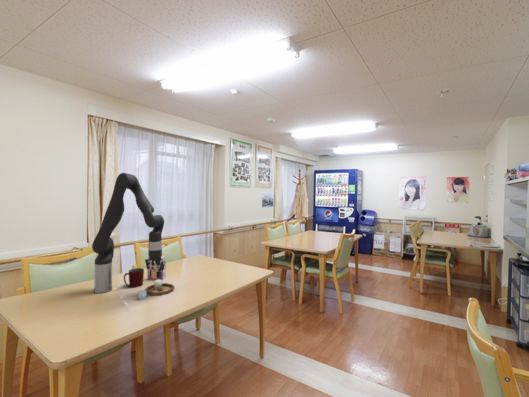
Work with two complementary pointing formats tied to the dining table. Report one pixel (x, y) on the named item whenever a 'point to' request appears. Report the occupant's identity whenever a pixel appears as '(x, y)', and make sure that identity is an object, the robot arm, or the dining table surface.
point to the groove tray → (160, 290)
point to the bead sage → (157, 284)
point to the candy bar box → (163, 272)
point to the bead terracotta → (154, 273)
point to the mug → (135, 277)
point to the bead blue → (142, 295)
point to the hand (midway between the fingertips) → (155, 276)
